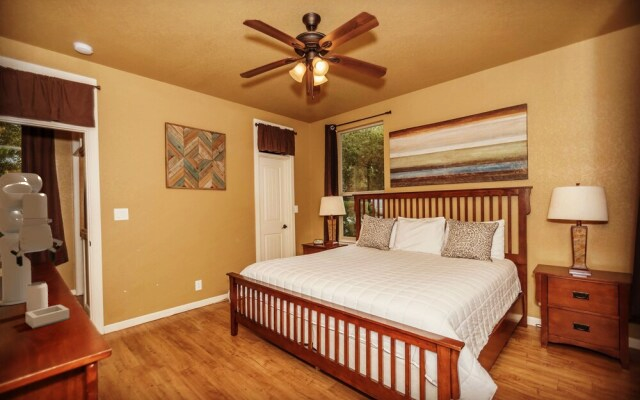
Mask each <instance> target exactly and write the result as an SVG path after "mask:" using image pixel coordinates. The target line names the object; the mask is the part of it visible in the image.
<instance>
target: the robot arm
mask: <svg viewBox="0 0 640 400" xmlns="http://www.w3.org/2000/svg"><path fill="white" fill-rule="evenodd" d="M42 187H43V180H42V178H41V176H39V174H36V173H30V172H28V173H27V172H7V173H4V174H2V175H1V176H0V233H1V234H2V235H3V236H1V237H0V259H1V280H2V281H1V282H2V283H1V284H2V286H1V287H2V291H1V292H2V299H1V300H0V306H12V305H19V304H23V303H26V289H27V287H28V284H31V283H32V269H31V268H32V265H31V264H32V263H31V260H30V259H29V258H28V257H26V256H25V255H24V254H26V253H34V252H35V253H36V252H42V251H46V250H48V251H50V252H48V255H49V256H48V258H49V262H51V263H53V262H54V261H55V259H56V252H57V251H58V250H59V249H60V248H61V246H62V245H63V243H64V241H63V240H60V239H57V238H53V234H52V229H51V225H50V224H49V223H52V222H53V219H52V218H49V217H48V197H47V194H46V193H43V192H40V191H41V189H42ZM21 212H22V213H21ZM54 243H57V244H56V245H55V246H54ZM53 246H54V247H53Z"/></svg>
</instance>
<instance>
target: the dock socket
mask: <svg viewBox="0 0 640 400" xmlns="http://www.w3.org/2000/svg"><path fill="white" fill-rule="evenodd" d="M69 319H70V309H69V308H68V307H66V306H64V305H62V304H56V305H51V306H48V307H47V308H43V309H39V310H34V311H30V312H27V311H25V323H26V324H27V325H28V326H29V327H31V328H32V329H37V328H40V327H44V326H49V325H52V324H56V323H60V322H63V321H68V320H69Z"/></svg>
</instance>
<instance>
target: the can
mask: <svg viewBox="0 0 640 400" xmlns="http://www.w3.org/2000/svg"><path fill="white" fill-rule="evenodd" d="M48 292H49V289H48V284H47V282H46V281H36V282H31V284H28V287H27V289H26V302H25V303H26V312H30V311H34V310H39V309H43V308H47V307H49V304H48V303H49V301H48V300H49V297H48V296H49V294H48Z"/></svg>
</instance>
